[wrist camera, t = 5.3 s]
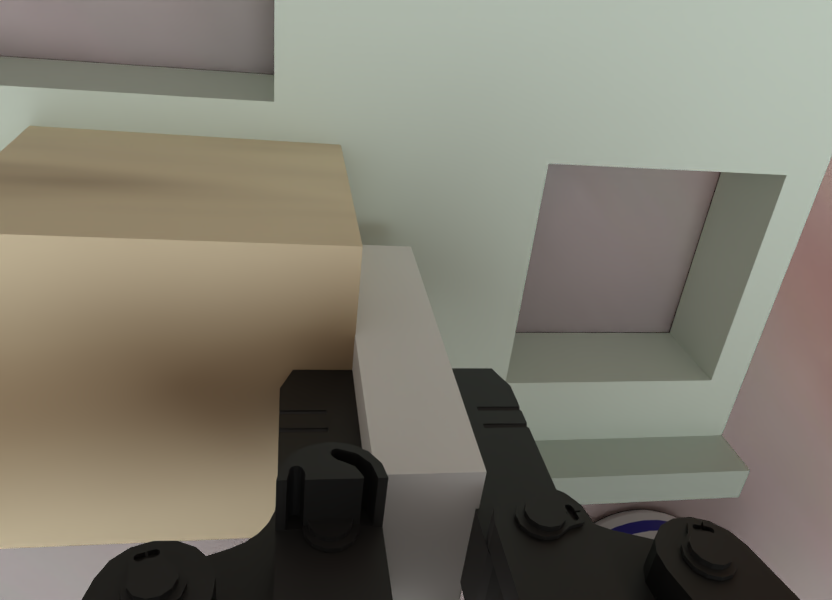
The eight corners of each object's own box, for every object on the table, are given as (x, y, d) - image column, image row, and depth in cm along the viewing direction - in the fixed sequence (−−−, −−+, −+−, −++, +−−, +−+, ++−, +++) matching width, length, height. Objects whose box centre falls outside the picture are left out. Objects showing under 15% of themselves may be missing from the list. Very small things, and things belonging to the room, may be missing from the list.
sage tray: (672, 409, 24) (738, 497, 20) (-228, 428, 19) (-343, 548, 15) (907, -273, 15) (1093, -323, 11) (-658, -567, 10) (-1149, -808, 7)
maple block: (326, 379, 18) (338, 534, 13) (68, 379, 17) (-9, 548, 12) (341, 144, 15) (362, 246, 10) (29, 125, 14) (-88, 231, 9)
